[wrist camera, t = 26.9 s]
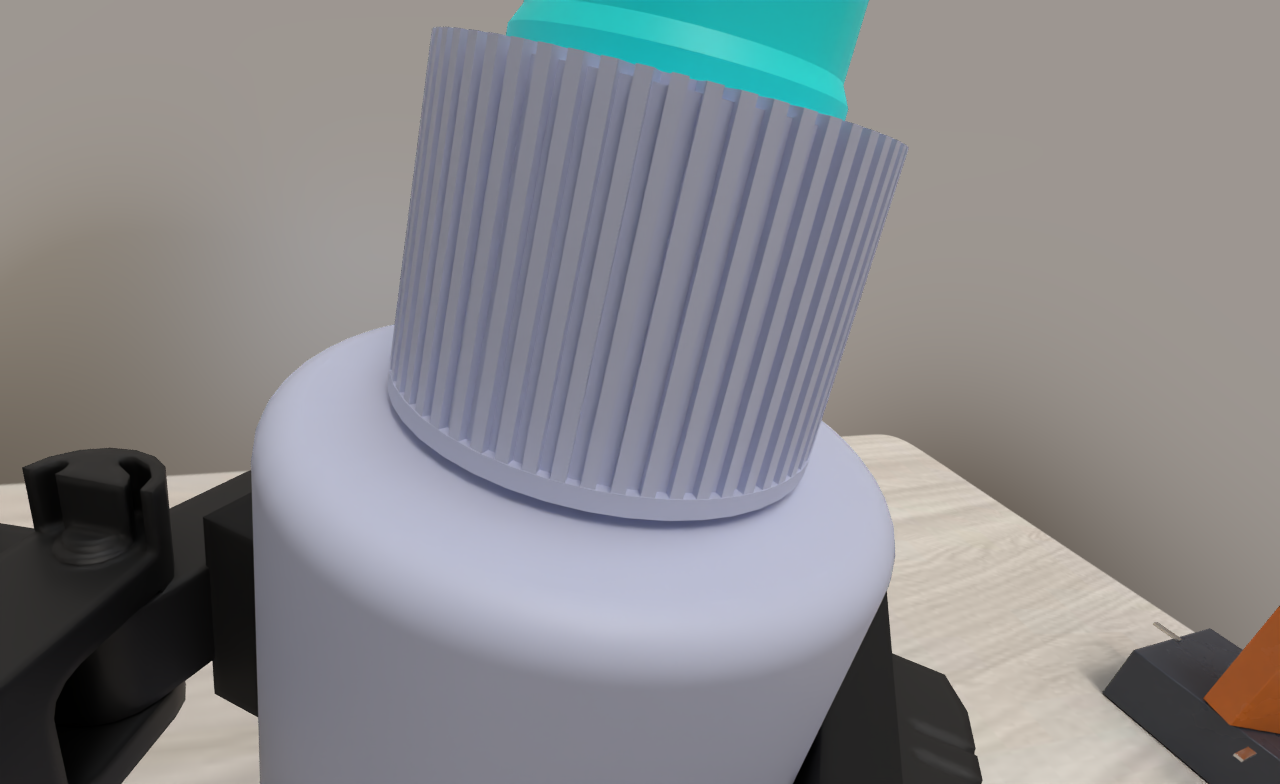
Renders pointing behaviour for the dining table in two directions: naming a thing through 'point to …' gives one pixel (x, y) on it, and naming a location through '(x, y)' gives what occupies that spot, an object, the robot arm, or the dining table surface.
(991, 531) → the dining table surface
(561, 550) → the spray bottle
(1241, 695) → the orange toy brick
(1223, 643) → the dark square tile
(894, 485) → the dining table surface
